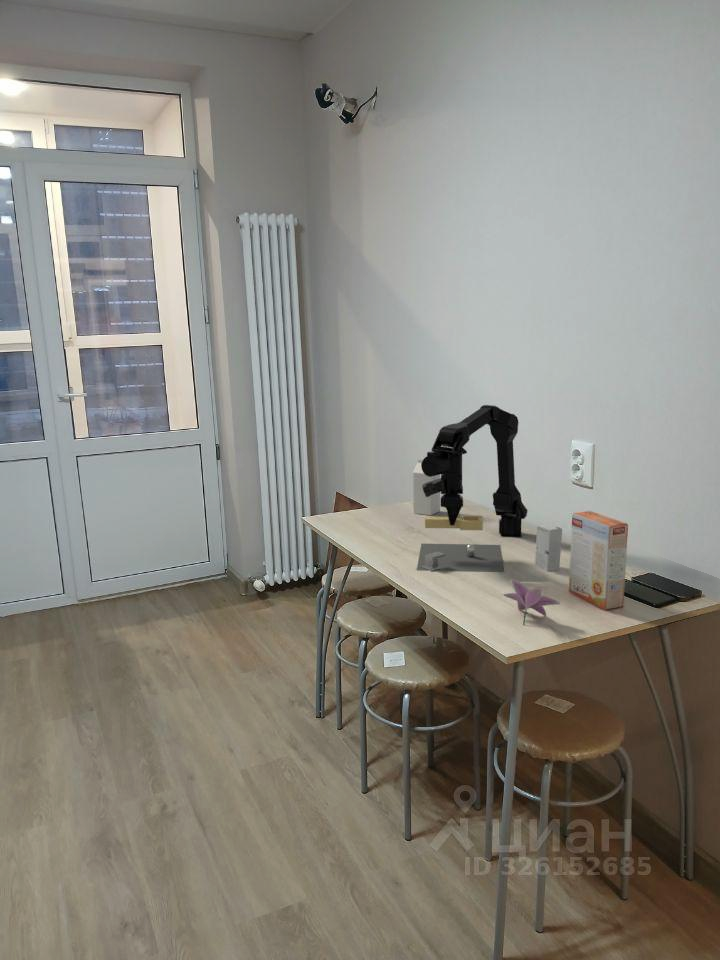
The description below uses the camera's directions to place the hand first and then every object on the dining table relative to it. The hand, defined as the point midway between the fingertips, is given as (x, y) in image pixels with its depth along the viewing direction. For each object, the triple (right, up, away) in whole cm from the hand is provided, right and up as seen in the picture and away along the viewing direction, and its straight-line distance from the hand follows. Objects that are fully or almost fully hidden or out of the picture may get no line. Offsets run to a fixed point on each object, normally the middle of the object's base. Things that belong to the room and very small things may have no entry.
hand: (452, 523), depth 217 cm
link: (0, -1, 0) cm, 1 cm away
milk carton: (-3, +1, +53) cm, 53 cm away
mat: (+3, -10, +1) cm, 10 cm away
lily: (+13, -20, -43) cm, 49 cm away
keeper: (-7, -12, -8) cm, 16 cm away
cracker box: (+31, -17, -33) cm, 48 cm away
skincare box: (+25, -12, -9) cm, 30 cm away
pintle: (+6, -10, +1) cm, 11 cm away
